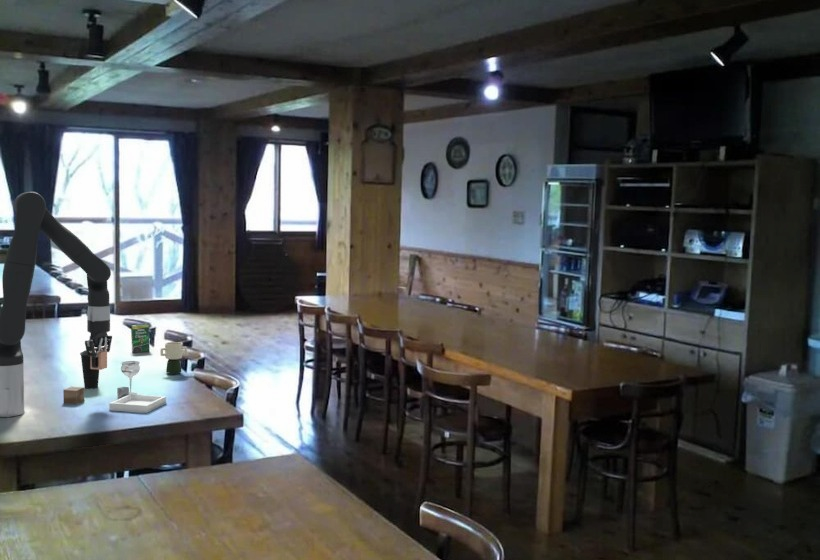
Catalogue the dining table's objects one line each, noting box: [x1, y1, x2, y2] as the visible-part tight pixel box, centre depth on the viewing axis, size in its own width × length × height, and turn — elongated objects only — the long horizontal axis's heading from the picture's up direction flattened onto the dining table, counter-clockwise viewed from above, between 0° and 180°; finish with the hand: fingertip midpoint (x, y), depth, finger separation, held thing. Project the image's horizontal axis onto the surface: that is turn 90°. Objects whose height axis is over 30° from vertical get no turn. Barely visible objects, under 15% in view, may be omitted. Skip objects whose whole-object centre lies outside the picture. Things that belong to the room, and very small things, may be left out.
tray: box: [108, 393, 167, 414], centre depth 282 cm, size 14×14×2 cm
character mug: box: [160, 341, 188, 375], centre depth 336 cm, size 11×7×13 cm, turn 118°
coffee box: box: [130, 324, 151, 354], centre depth 382 cm, size 8×3×13 cm, turn 118°
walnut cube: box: [62, 386, 85, 405], centre depth 286 cm, size 5×5×5 cm
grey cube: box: [116, 386, 130, 400], centre depth 292 cm, size 4×4×4 cm
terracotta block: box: [90, 351, 108, 371], centre depth 283 cm, size 4×4×6 cm
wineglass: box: [120, 360, 141, 394], centre depth 299 cm, size 7×7×12 cm
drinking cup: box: [79, 349, 100, 390], centre depth 308 cm, size 8×8×20 cm
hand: (98, 366), depth 283 cm, fingers closed on terracotta block, 4 cm apart
